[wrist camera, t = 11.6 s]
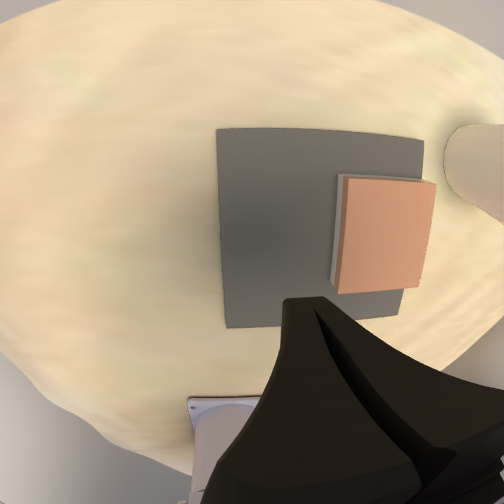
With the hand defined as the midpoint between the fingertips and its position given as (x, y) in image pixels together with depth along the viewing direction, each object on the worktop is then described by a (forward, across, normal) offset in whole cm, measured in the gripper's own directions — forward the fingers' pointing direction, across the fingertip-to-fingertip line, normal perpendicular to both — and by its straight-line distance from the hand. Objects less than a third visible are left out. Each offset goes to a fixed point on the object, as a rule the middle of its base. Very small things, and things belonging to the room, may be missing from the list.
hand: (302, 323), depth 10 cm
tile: (+8, -4, 0) cm, 9 cm away
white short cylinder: (+10, -15, -5) cm, 19 cm away
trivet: (+10, -4, 0) cm, 11 cm away
